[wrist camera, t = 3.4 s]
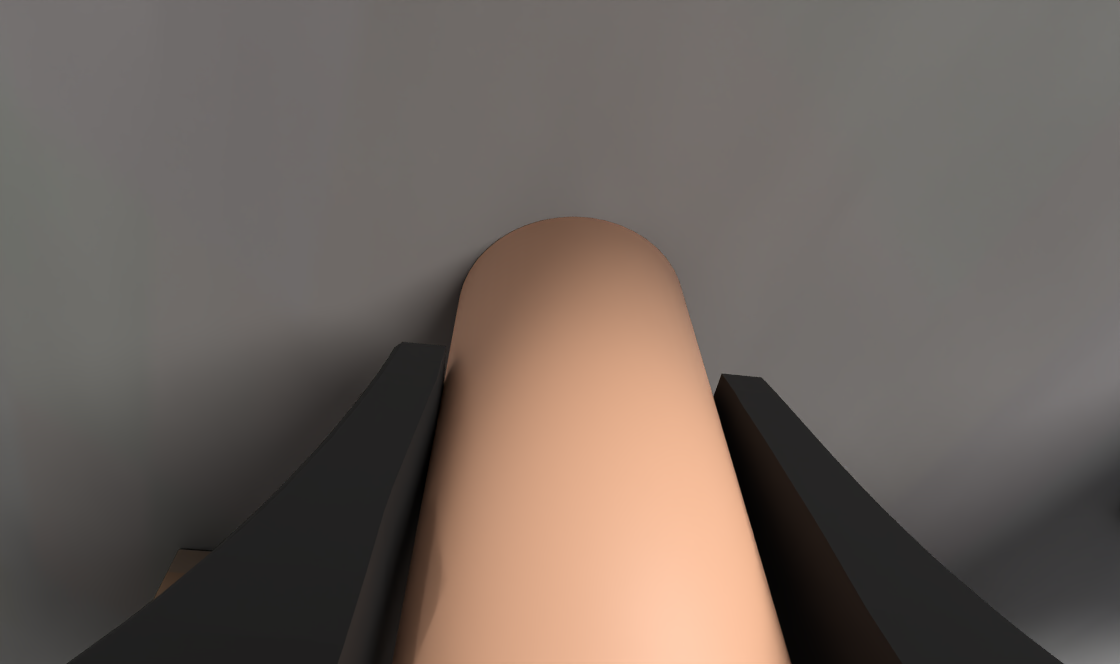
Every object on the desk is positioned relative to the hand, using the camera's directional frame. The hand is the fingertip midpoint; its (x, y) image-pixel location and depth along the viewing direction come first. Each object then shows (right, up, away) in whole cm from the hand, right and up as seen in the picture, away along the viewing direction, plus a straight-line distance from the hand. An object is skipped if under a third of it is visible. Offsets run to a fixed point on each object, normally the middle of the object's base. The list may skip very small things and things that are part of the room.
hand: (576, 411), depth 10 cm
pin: (0, +1, +2) cm, 2 cm away
